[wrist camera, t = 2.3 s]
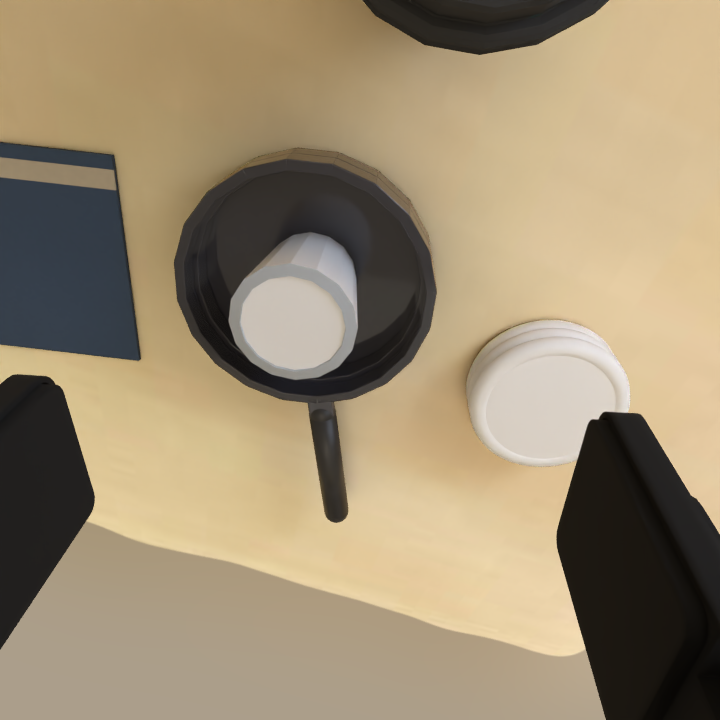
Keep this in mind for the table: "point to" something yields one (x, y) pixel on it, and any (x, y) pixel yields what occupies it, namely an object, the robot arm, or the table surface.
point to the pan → (322, 216)
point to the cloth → (63, 254)
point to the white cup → (298, 308)
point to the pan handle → (329, 459)
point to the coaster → (543, 391)
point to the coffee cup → (482, 21)
